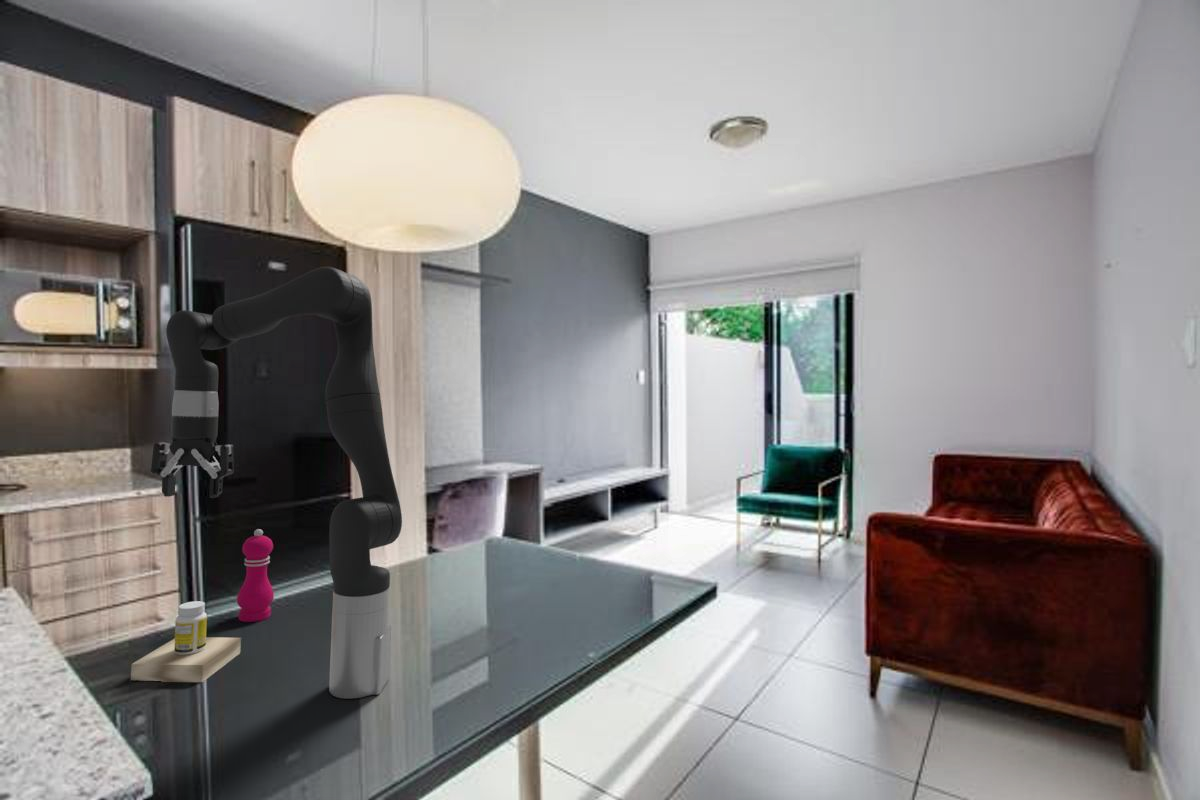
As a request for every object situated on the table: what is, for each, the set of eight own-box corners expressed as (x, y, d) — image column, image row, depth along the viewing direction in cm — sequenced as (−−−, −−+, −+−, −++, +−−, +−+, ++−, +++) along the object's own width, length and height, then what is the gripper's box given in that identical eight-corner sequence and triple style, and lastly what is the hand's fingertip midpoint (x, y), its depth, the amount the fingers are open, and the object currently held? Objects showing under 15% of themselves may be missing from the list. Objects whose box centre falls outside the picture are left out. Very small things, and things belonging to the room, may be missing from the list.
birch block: (240, 653, 115) (240, 637, 115) (202, 682, 103) (203, 665, 103) (176, 652, 114) (177, 636, 114) (130, 681, 102) (131, 664, 102)
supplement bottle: (200, 642, 112) (203, 598, 112) (209, 650, 109) (211, 604, 109) (170, 650, 108) (172, 604, 108) (178, 658, 105) (180, 611, 105)
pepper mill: (267, 609, 138) (271, 524, 138) (277, 618, 133) (280, 530, 133) (232, 616, 133) (236, 528, 133) (240, 625, 128) (244, 534, 128)
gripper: (243, 415, 120) (239, 494, 119) (170, 412, 119) (167, 492, 119) (221, 415, 112) (218, 500, 112) (144, 413, 111) (140, 498, 111)
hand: (191, 496), depth 115 cm, fingers open, 8 cm apart
